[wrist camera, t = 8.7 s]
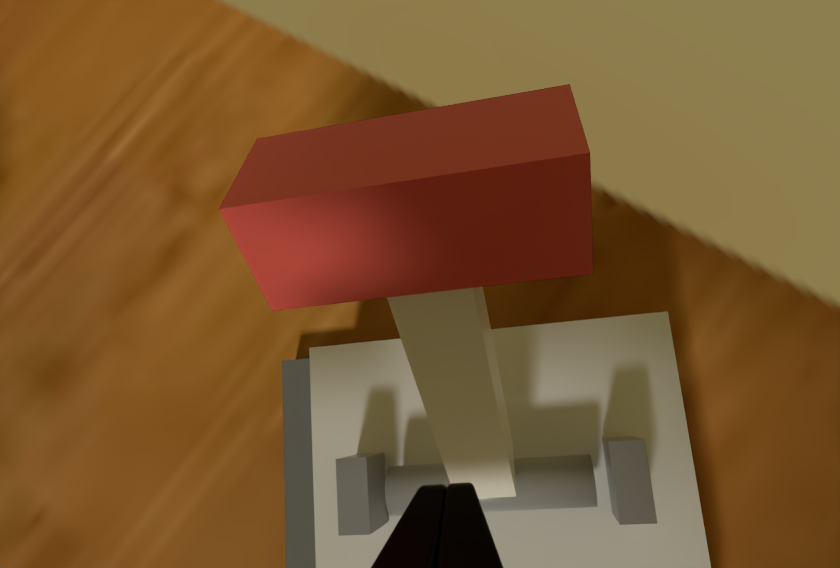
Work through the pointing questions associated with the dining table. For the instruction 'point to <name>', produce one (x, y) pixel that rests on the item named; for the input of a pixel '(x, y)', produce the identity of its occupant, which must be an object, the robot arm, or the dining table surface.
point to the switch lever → (432, 259)
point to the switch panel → (532, 437)
